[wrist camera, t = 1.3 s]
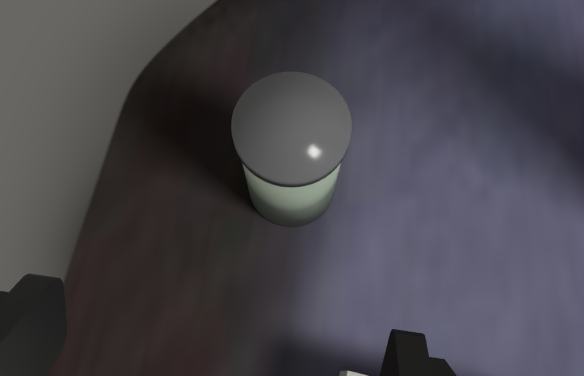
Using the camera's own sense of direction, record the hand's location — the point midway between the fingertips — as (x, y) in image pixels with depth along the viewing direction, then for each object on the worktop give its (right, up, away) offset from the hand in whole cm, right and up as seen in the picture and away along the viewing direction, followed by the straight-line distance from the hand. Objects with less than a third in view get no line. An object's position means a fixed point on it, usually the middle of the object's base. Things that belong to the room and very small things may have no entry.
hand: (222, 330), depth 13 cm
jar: (+2, +4, +25) cm, 25 cm away
